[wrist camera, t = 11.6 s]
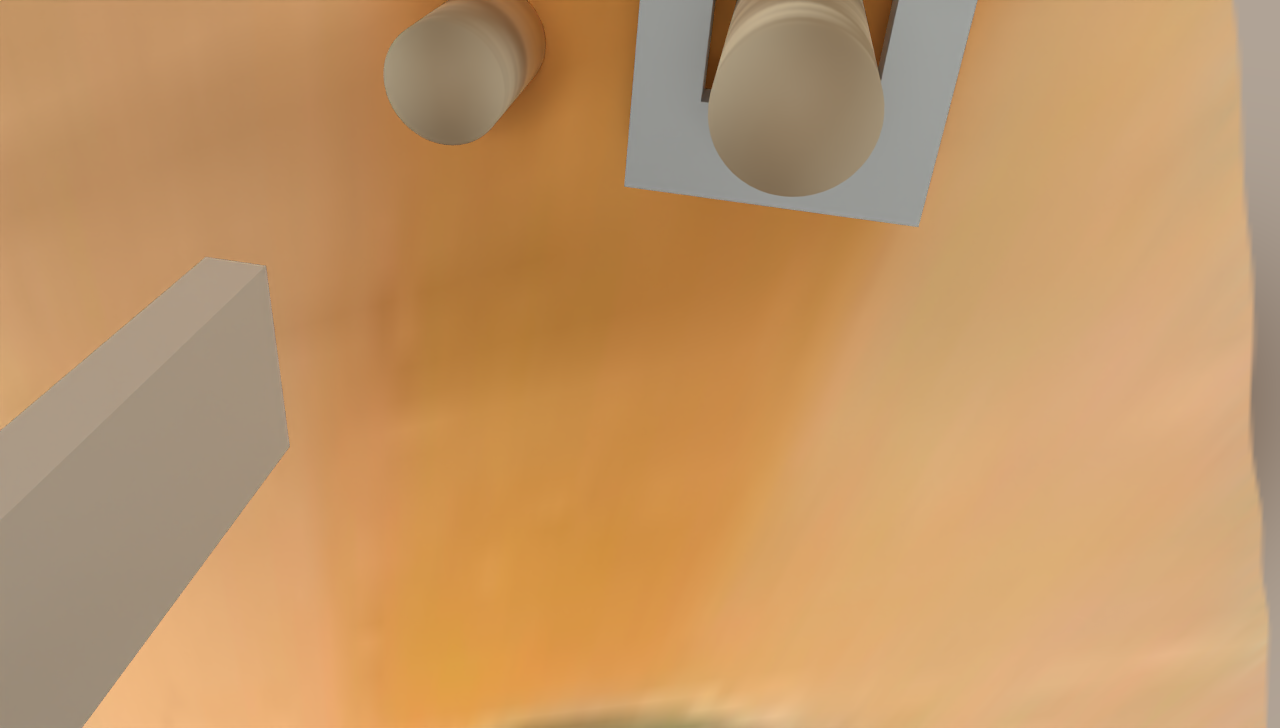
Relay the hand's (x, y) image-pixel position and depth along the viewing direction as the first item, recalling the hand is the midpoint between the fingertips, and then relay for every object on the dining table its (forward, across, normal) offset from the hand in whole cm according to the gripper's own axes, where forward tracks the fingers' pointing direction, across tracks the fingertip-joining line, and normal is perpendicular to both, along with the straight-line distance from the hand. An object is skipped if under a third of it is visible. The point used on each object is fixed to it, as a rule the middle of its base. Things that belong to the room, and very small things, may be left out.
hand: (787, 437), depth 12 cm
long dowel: (+27, 0, 0) cm, 27 cm away
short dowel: (+27, -11, -3) cm, 29 cm away
